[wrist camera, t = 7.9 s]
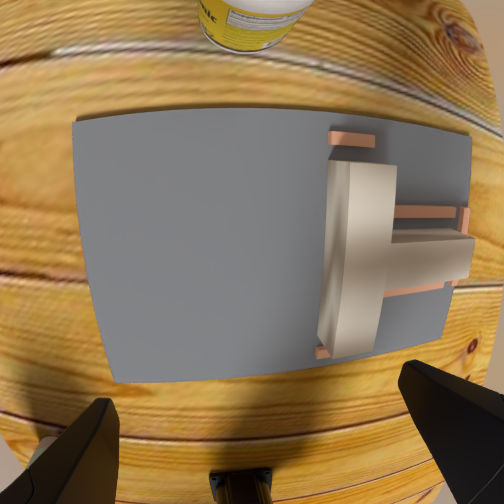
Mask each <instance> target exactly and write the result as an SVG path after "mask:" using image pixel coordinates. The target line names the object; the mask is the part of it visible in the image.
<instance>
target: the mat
mask: <svg viewBox="0 0 504 504" xmlns="http://www.w3.org/2000/svg"><path fill="white" fill-rule="evenodd" d="M72 136H73V163H74V179H75V191H76V202H77V211H78V220H79V228H80V235H81V242H82V248H83V254H84V260H85V266H86V272H87V277H88V282H89V287H90V292H91V297H92V301H93V306H94V310H95V314H96V318H97V322H98V326H99V330H100V334H101V338H102V342H103V345H104V349H105V352H106V356H107V359H108V362H109V366H110V369H111V372H112V375H113V378H114V382H115V383H160V382H186V381H203V380H217V379H229V378H239V377H249V376H258V375H266V374H274V373H282V372H289V371H296V370H302V369H309V368H315V367H321V366H326V365H332V364H337V363H343V362H348V361H353V360H358V359H362V358H367V357H372V356H376V355H380V354H385V353H389V352H393V351H397V350H401V349H405V348H409V347H413V346H417V345H420V344H424V343H428V342H431V341H435V340H438V339H441V335H442V332H443V329H444V325H445V322H446V318H447V314H448V311H449V307H450V303H451V299H452V295H453V290H454V286H456V285H458V280H459V279H458V280H452V281H446V282H440V283H434V284H428V285H422V286H415V287H408V288H402V289H395V290H388V291H384V296H383V301H382V307H381V313H380V318H379V323H378V328H377V333H376V338H375V342H374V347H373V351H371V352H366V353H361V354H356V355H351V356H346V357H341V358H335V359H332V358H331V356H330V355H329V353H328V351H327V350H326V348H325V347H324V345H323V344H322V342H321V340H320V339H319V337H318V336H317V330H318V321H319V310H320V300H321V288H322V276H323V263H324V248H325V230H326V210H327V182H328V160H343V161H361V162H373V163H381V164H389V165H396V166H397V177H396V194H395V207H394V219H393V229H392V230H399V229H432V228H451V229H453V230H456V231H458V232H461V233H463V234H466V235H467V231H468V224H469V216H470V208H469V207H468V200H469V190H470V176H471V156H472V137H469V136H466V135H462V134H458V133H453V132H449V131H445V130H440V129H436V128H431V127H426V126H421V125H416V124H411V123H405V122H400V121H394V120H387V119H381V118H374V117H367V116H359V115H351V114H342V113H332V112H322V111H309V110H293V109H271V108H204V109H182V110H167V111H154V112H143V113H134V114H125V115H117V116H109V117H102V118H95V119H89V120H83V121H77V122H72Z"/></svg>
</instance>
